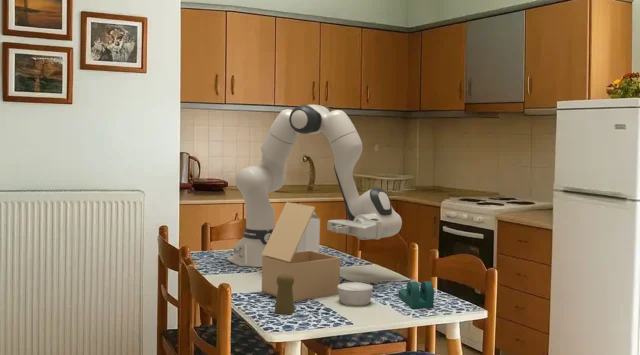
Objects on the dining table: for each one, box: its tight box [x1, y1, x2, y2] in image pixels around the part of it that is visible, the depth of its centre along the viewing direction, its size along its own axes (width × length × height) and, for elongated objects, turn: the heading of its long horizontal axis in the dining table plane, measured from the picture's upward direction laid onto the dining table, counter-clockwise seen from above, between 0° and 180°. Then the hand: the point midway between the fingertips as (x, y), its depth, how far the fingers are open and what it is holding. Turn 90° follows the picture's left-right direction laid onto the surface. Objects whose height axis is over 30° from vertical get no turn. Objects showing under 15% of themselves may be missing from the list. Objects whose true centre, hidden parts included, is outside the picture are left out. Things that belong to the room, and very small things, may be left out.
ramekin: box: [337, 281, 374, 307], centre depth 224 cm, size 11×11×5 cm
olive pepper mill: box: [274, 274, 296, 315], centre depth 211 cm, size 6×6×11 cm
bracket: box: [397, 280, 435, 310], centre depth 227 cm, size 18×7×8 cm, turn 10°
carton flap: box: [262, 201, 317, 262], centre depth 230 cm, size 15×19×1 cm
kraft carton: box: [261, 251, 341, 303], centre depth 234 cm, size 16×20×12 cm
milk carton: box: [296, 211, 321, 253], centre depth 309 cm, size 7×7×19 cm
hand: (334, 229), depth 242 cm, fingers closed
